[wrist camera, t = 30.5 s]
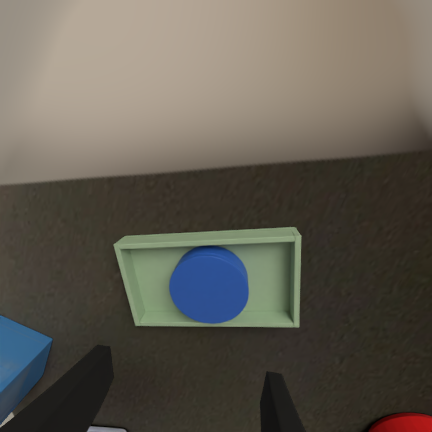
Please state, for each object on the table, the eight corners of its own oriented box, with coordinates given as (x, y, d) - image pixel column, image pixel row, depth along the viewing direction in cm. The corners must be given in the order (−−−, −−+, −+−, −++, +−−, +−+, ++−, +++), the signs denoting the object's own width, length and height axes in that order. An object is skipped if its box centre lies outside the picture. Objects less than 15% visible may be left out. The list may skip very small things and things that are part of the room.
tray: (143, 311, 19) (135, 326, 17) (124, 235, 16) (113, 244, 15) (293, 311, 17) (299, 327, 15) (295, 226, 15) (301, 235, 13)
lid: (261, 262, 15) (263, 275, 14) (232, 317, 17) (231, 334, 16) (188, 233, 15) (183, 243, 14) (167, 291, 17) (159, 306, 16)
